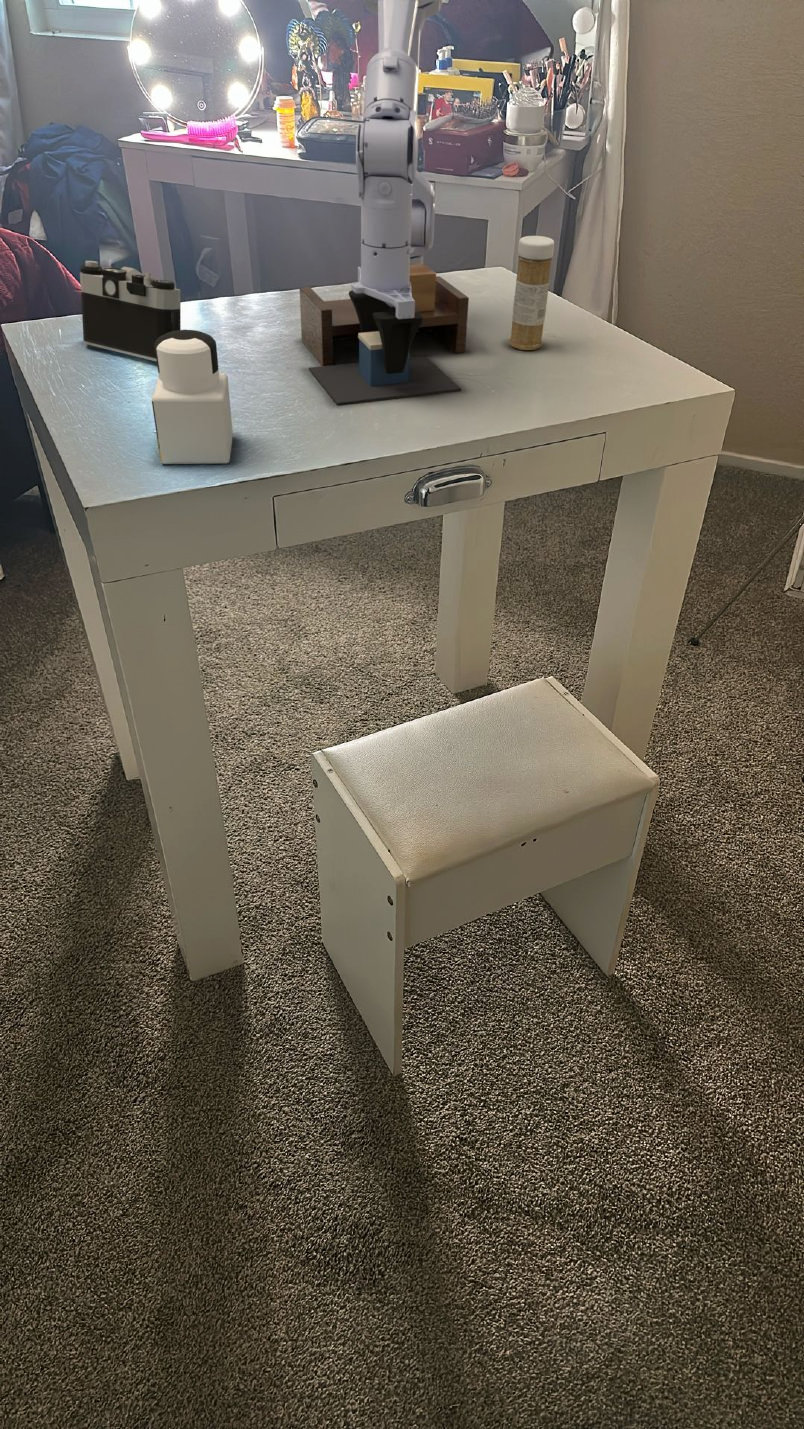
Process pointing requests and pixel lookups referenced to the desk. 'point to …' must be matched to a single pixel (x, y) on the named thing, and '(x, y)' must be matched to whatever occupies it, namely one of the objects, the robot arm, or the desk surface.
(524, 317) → the sprinkles bottle
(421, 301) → the tan box
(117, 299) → the camera
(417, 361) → the mat
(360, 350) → the blue box
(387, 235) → the robot arm
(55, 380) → the desk surface
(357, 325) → the shelf
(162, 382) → the medicine bottle
